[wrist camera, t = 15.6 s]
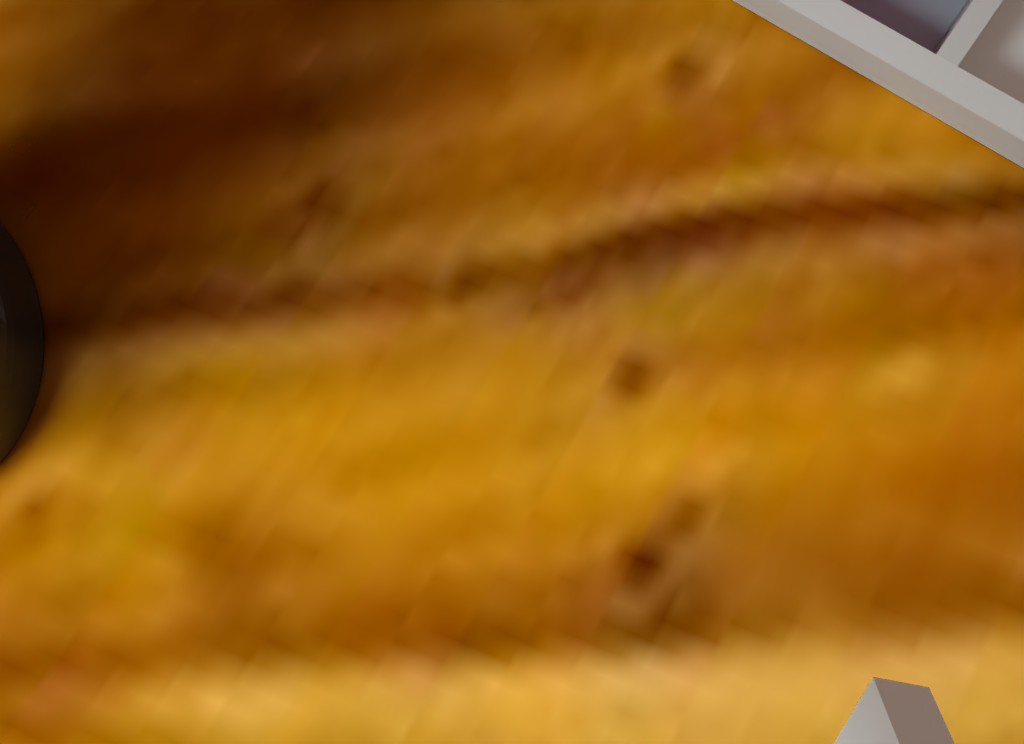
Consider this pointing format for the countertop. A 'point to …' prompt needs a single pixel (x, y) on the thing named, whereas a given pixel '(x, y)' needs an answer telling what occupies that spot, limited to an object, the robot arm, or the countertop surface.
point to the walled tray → (926, 56)
